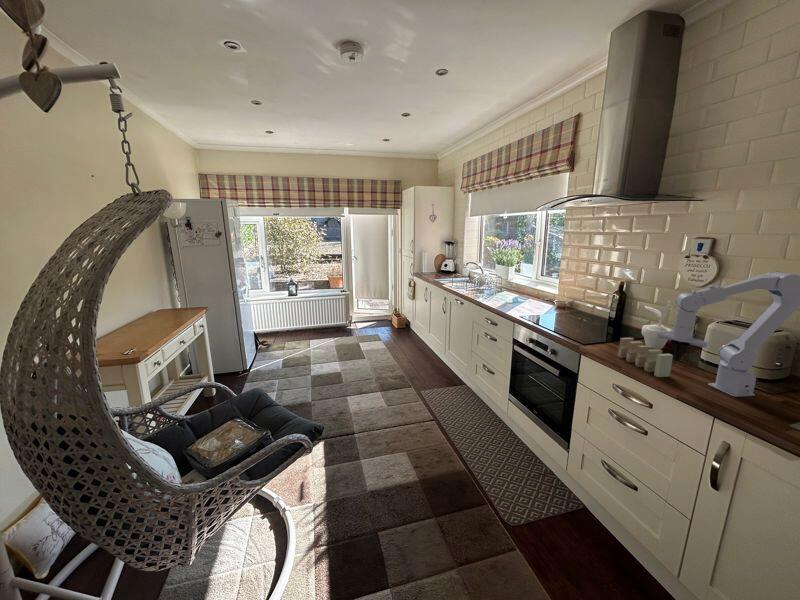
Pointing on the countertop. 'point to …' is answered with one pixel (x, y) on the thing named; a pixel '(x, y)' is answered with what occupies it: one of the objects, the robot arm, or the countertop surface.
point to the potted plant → (656, 328)
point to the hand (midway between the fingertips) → (677, 360)
